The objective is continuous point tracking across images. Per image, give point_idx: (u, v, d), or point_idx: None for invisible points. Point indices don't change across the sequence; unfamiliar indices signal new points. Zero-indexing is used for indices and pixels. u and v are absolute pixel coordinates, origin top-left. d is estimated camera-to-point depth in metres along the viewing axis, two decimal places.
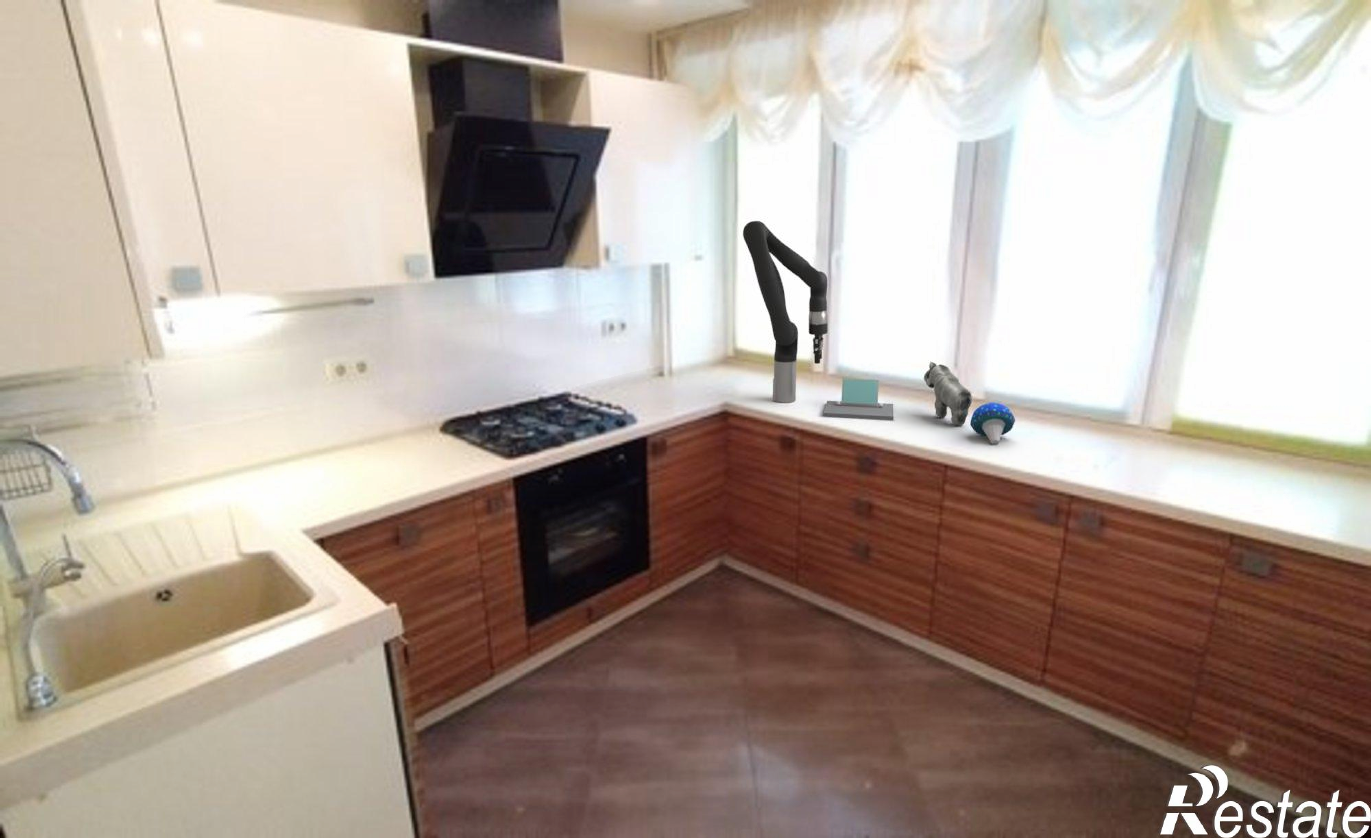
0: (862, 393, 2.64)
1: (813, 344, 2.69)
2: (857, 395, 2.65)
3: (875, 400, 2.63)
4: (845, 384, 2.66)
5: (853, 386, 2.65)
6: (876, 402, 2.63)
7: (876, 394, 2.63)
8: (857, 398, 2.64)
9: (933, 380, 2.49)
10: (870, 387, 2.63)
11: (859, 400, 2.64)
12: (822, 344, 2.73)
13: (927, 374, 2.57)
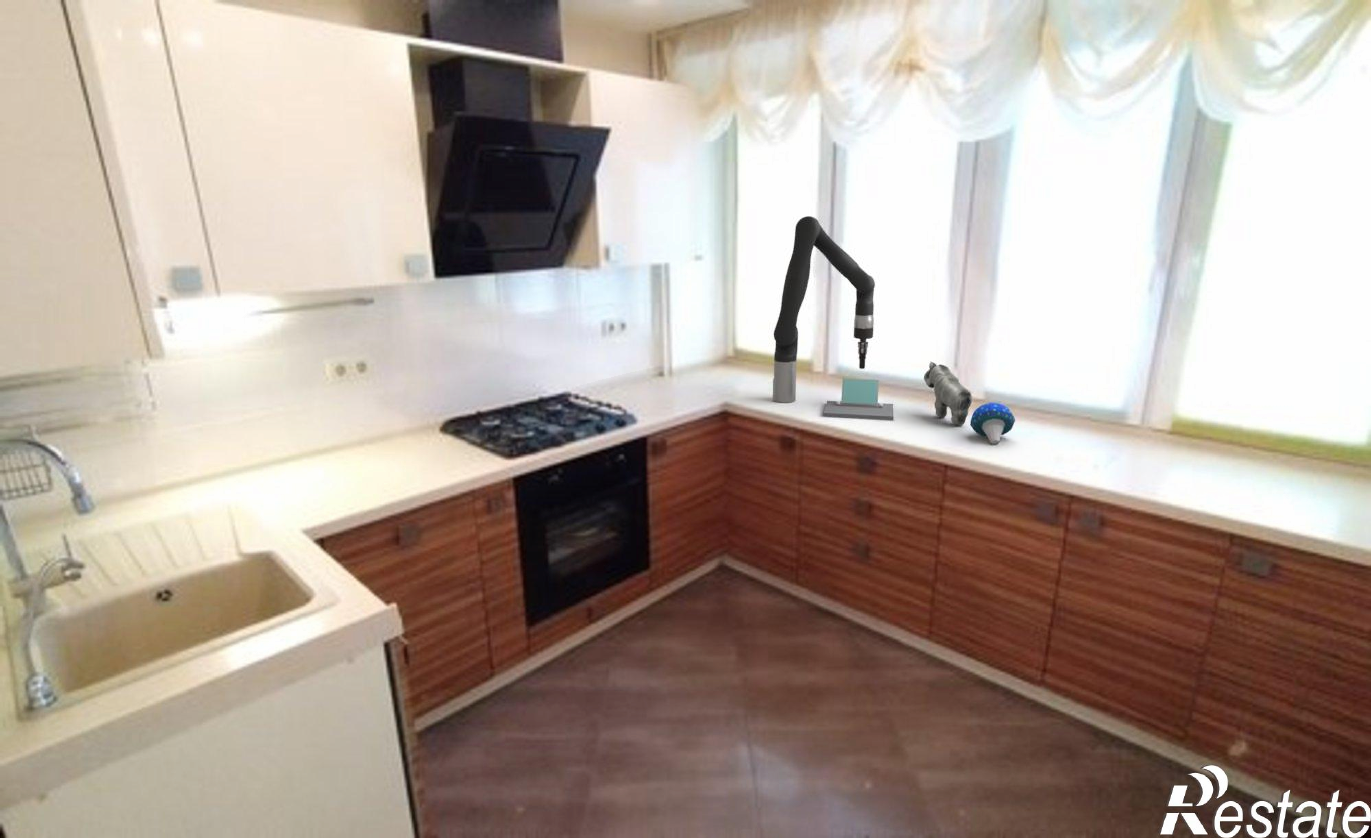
0: (862, 393, 2.64)
1: (858, 350, 2.67)
2: (857, 395, 2.65)
3: (875, 400, 2.63)
4: (845, 384, 2.66)
5: (853, 386, 2.65)
6: (876, 402, 2.63)
7: (876, 394, 2.63)
8: (857, 398, 2.64)
9: (933, 380, 2.49)
10: (870, 387, 2.63)
11: (859, 400, 2.64)
12: None
13: (927, 374, 2.57)
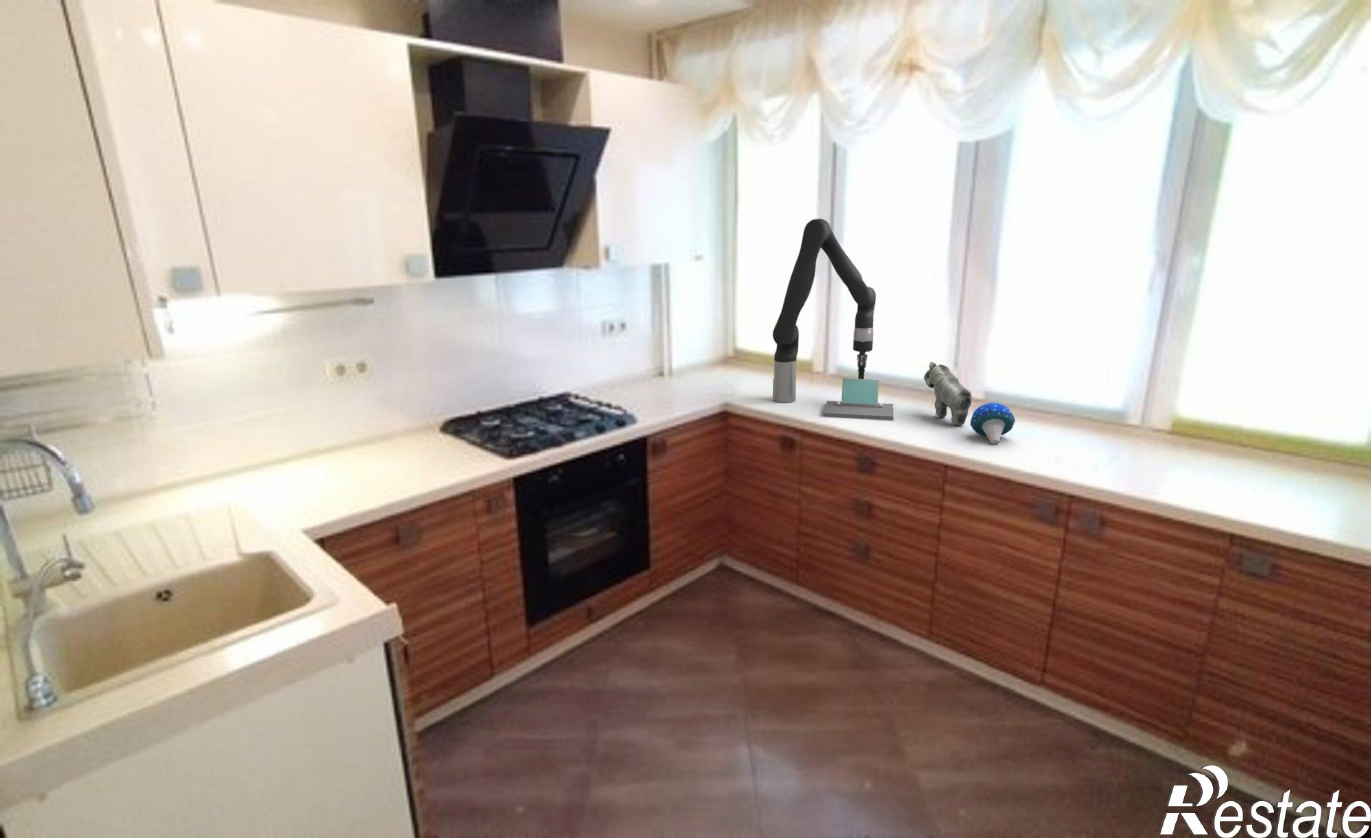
0: (862, 393, 2.64)
1: (857, 362, 2.64)
2: (857, 395, 2.64)
3: (875, 400, 2.63)
4: (845, 384, 2.66)
5: (853, 386, 2.65)
6: (876, 402, 2.63)
7: (876, 394, 2.63)
8: (857, 398, 2.64)
9: (933, 380, 2.49)
10: (870, 387, 2.63)
11: (859, 400, 2.64)
12: None
13: (927, 374, 2.57)
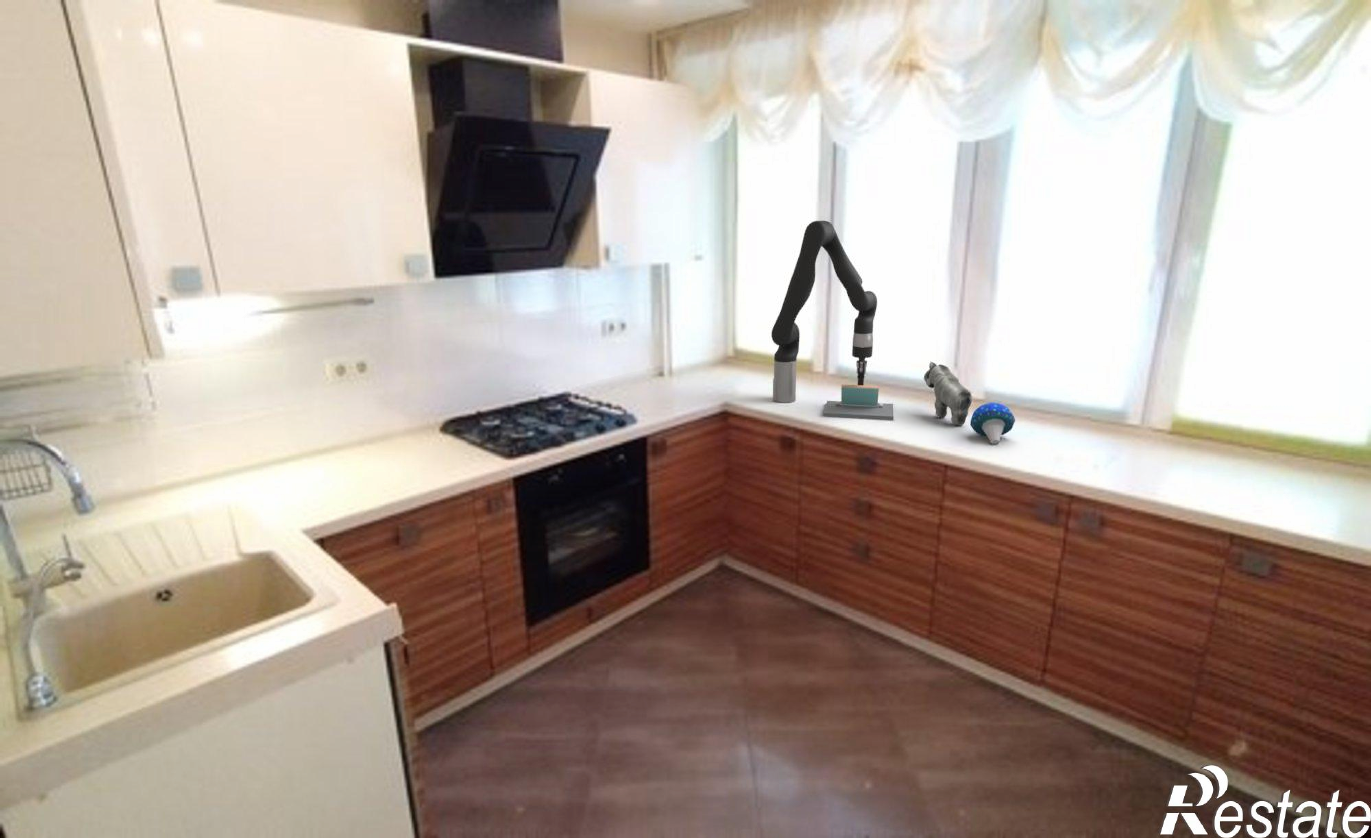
0: (862, 398, 2.61)
1: (857, 369, 2.57)
2: (857, 399, 2.62)
3: (874, 403, 2.62)
4: (844, 391, 2.60)
5: (852, 393, 2.60)
6: (876, 404, 2.62)
7: (876, 399, 2.60)
8: (857, 401, 2.63)
9: (933, 380, 2.49)
10: (870, 394, 2.58)
11: (859, 403, 2.63)
12: None
13: (927, 374, 2.57)
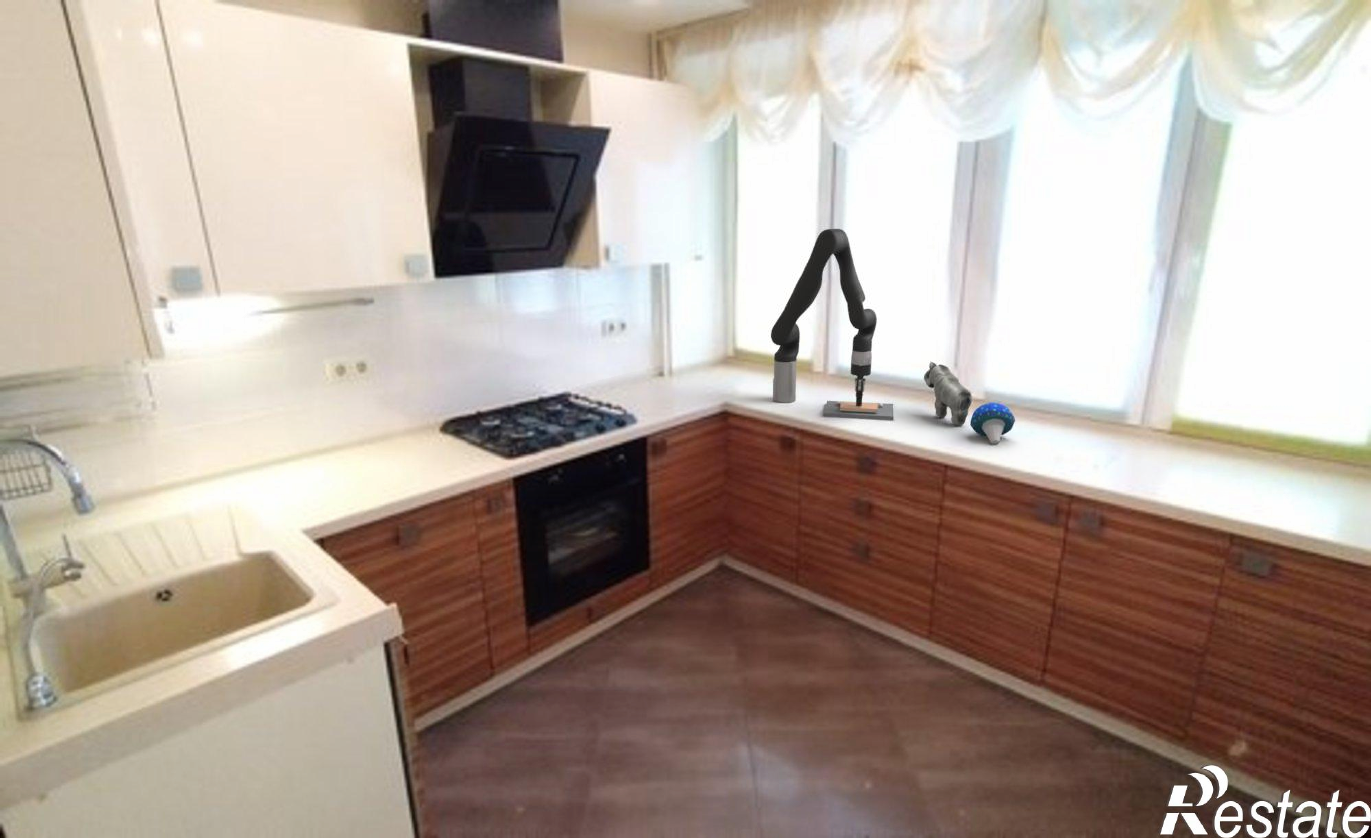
0: None
1: (855, 387, 2.54)
2: None
3: None
4: None
5: None
6: None
7: None
8: None
9: (933, 380, 2.49)
10: None
11: None
12: None
13: (927, 374, 2.57)
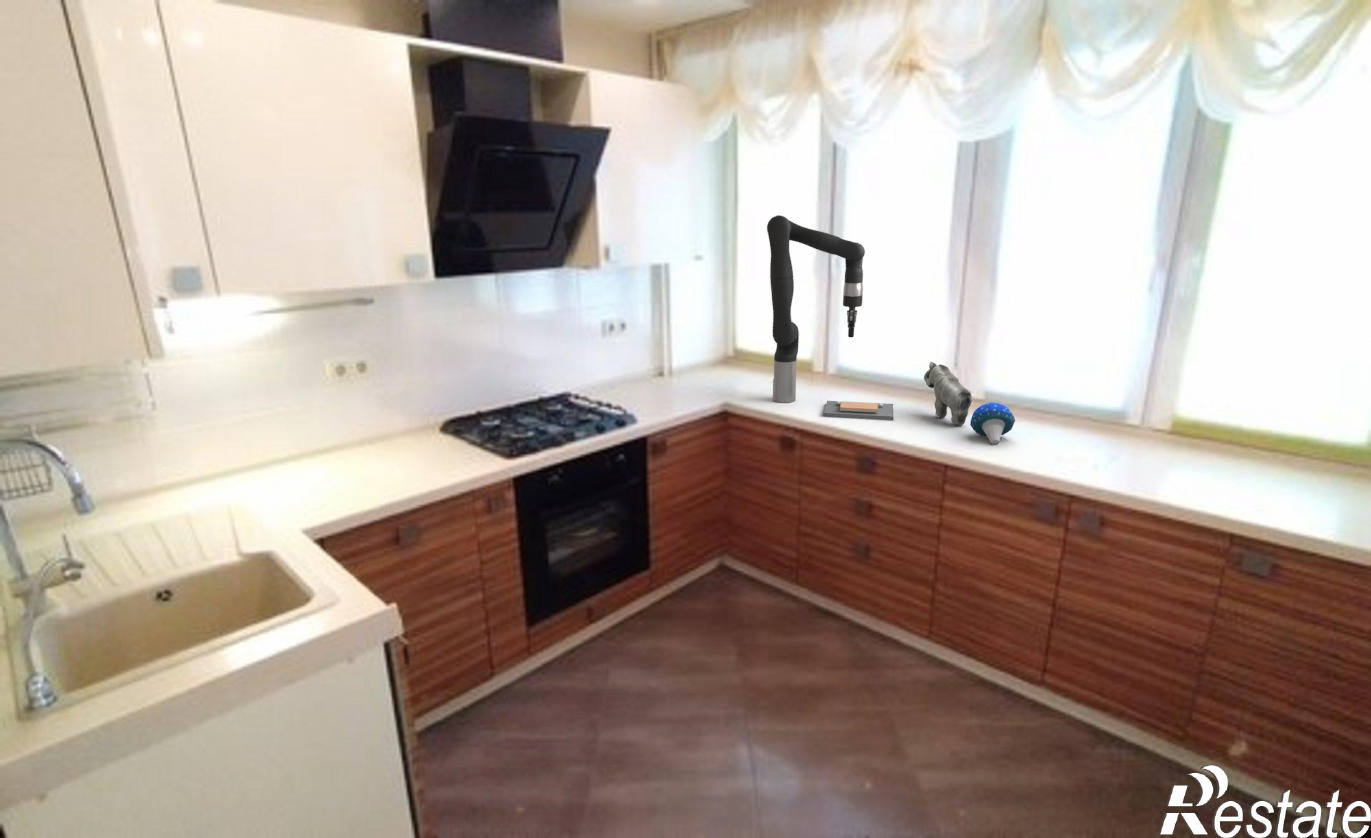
0: None
1: (847, 318, 2.67)
2: None
3: None
4: None
5: None
6: None
7: None
8: None
9: (933, 380, 2.49)
10: None
11: None
12: (855, 318, 2.69)
13: (927, 374, 2.57)
